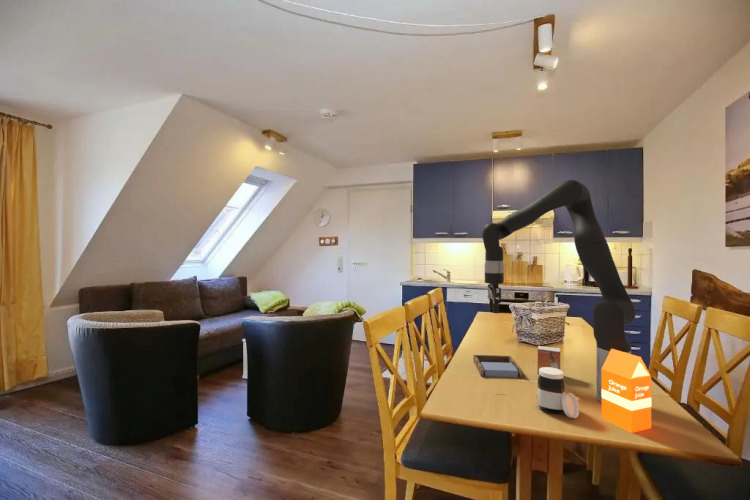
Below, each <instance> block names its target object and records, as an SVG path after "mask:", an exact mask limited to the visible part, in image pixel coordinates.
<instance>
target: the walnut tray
mask: <svg viewBox="0 0 750 500" xmlns="http://www.w3.org/2000/svg"><path fill="white" fill-rule="evenodd" d="M481 362H499V363H512V364H513V365H514V366H515V368H516V369H517V370H518V377H502V378H504V379H505V378H507V379H523V377H524V375H523V374H524V373H523V372H524V371H523V369H522V368H521V367H520V366H519V365H518V363H517V362H516V361H515V360H514V358H513V357H512V356H511V355H495V354H493V355H488V354H473V363H474V365H475V367H476V369H477V371H478V374H479V375H480V377H482V378H485V377H486V378H493V377H492V376H485V375H484V369H483V367H482V365H481Z"/></svg>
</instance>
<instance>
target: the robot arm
mask: <svg viewBox="0 0 750 500" xmlns="http://www.w3.org/2000/svg"><path fill="white" fill-rule="evenodd" d="M562 207H565V208H566V209H567V212H568V213H569V216H570V218H571V221H572V225H573V237H574V238H573V240H574V247H575V250H576V252H577V256H578V257H579V258H578V259H579V261H580V263H581V265H582V267H583V268H584V270H585V271H586V272H587V273H588V274H589V276H590V277H591V278H592V279H593V280H594V282H595V283H596V285H597V286H598V288H599V291H600V294H601V297H602V299H601V300H599V301H597V302H596V303H595V305H594V307H593V309H592V326H593V327H592V328H593V329H592V331H593V337H594V339H595V342H596V400H597V401H598V402H600V403H601V404H602V367H603V365H604V363H605V361H606V359H607V357H608V355H609V353H610V350H611V349H615V350H618V351H622V352H625V353H628V354H632V342H631V341H630V340H629V339H627V338H626V335H625V332H626V331H625V327H626V326H629V325H631V324H632V323H634V321H635V319H636V315H637V314H636V308H635V305H634V303H633V302H632V300H631V298H630V296H629V294H628V292H627V290H626V288H625V286H624V284H623V282H622V279H621V277H620V275H619V271H618V269H617V266H616V263H615V261H614V258H613V255H612V252H611V249H610V246H609V245H608V241H607V238H606V237H605V234H604V232H603V229H602V228H601V225H600V223H599V221H598V220H597V217H596V214H595V210H594V206H593V202H592V198H591V193H590V190H589V189H588V187H587V186H586V185H585V184H583V183H581V182H580V181H578V180H575V179H567V180H565V181H563V182H561V183H559V184H557V185H556V186H555V187H553V188H552V189H551V190H550V191H548V192H546V193H545V194H543V195H542V196H541V197H539V198H537V199H536V200H534V201H533V202H531V203H528V204H527V205H526V206H524V207H522V208H520V209H517V210H516V211H514V212H512V213H510V214H508V215H507V216H505V217H504V219H502V220H501V221H500V222H498V223H497V222H496V223H494V222H490V223H489V222H488V223H486V224H485V225H484V227H483V228H482V240H483V246H484V250H485V257H484V258H485V259H484V260H485V262H484V283H485V284H487V298H488V301H489V304H488V305H489V307H488V309H489V310H492V312H493V314H499V313H500V304H501V303H502V288H501V287H499V286H500V285H502V284H504V282H505V279H504V278H505V267H504V266H505V265H504V248H503V247H502V246H500V240H503V239H505V238H508V237H509V236H510V235H511V234H513V233H514V232H517V231H520V230H522V229H523V228H527V227H528V226H530V225H532V224H533V223H535V222H536V221H537V220H538V219H540V218H541V217H542V216H544V215H545V214H547V213H550V212H551V211H553V210H556V209H559V208H562Z"/></svg>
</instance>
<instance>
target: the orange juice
mask: <svg viewBox="0 0 750 500" xmlns="http://www.w3.org/2000/svg"><path fill="white" fill-rule="evenodd" d="M652 401H653V400H652V375H651V374H650V372H649V369H648V368H647V366H646V363H644V361H643V359H642V356H638V355H635V354H632V353H631V354H628V353H625V352H622V351H618V350H615V349H611V350H610V353H609V355H608V357H607V359H606V361H605V363H604V365H603V367H602V403H601V419H603V420H605V421H606V422H609V423H611V424H613V425H615V426H617V427H619V428H621V429H623V430H625V431H627V432H629V433H631V434H632V433H636V432H641V431H645V430H649V429H652Z"/></svg>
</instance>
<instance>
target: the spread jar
mask: <svg viewBox="0 0 750 500" xmlns="http://www.w3.org/2000/svg"><path fill="white" fill-rule="evenodd" d="M564 376H565V373H564V371H563V370H561V368H560V369H556V368H552V367H542V368H540V369H539V374H538V378H537V407H538V408H539V409H541V410H542V411H544V412H547V413H551V414H561V413H564V414H565V415H566V417H568V418H569V419H577V418H578V417H579V415H580V405H579V401H578V399H577V397H576V395H575V394H574V393H571V392H566V383H565V382H566V381H565V379H564Z"/></svg>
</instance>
